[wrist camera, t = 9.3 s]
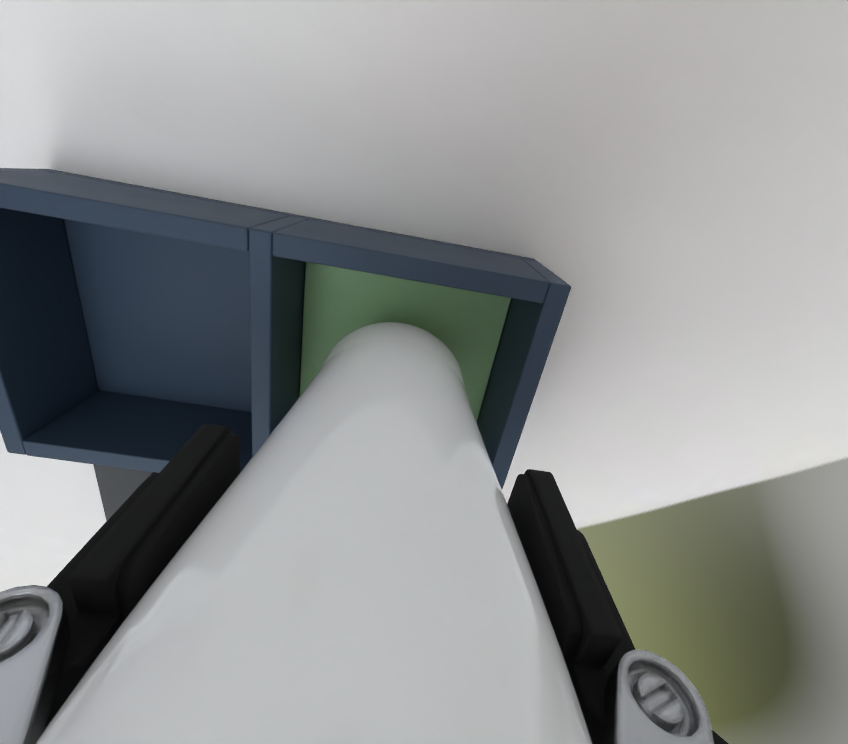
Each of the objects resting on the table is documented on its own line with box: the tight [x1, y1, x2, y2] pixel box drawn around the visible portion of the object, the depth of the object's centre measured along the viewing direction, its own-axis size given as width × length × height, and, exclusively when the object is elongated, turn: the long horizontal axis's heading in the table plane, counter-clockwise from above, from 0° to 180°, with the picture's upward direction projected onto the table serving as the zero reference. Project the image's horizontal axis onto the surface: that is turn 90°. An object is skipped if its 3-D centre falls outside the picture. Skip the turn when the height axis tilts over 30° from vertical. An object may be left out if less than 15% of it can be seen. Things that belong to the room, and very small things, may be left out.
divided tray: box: [0, 168, 571, 490], centre depth 16 cm, size 19×10×5 cm, turn 80°
